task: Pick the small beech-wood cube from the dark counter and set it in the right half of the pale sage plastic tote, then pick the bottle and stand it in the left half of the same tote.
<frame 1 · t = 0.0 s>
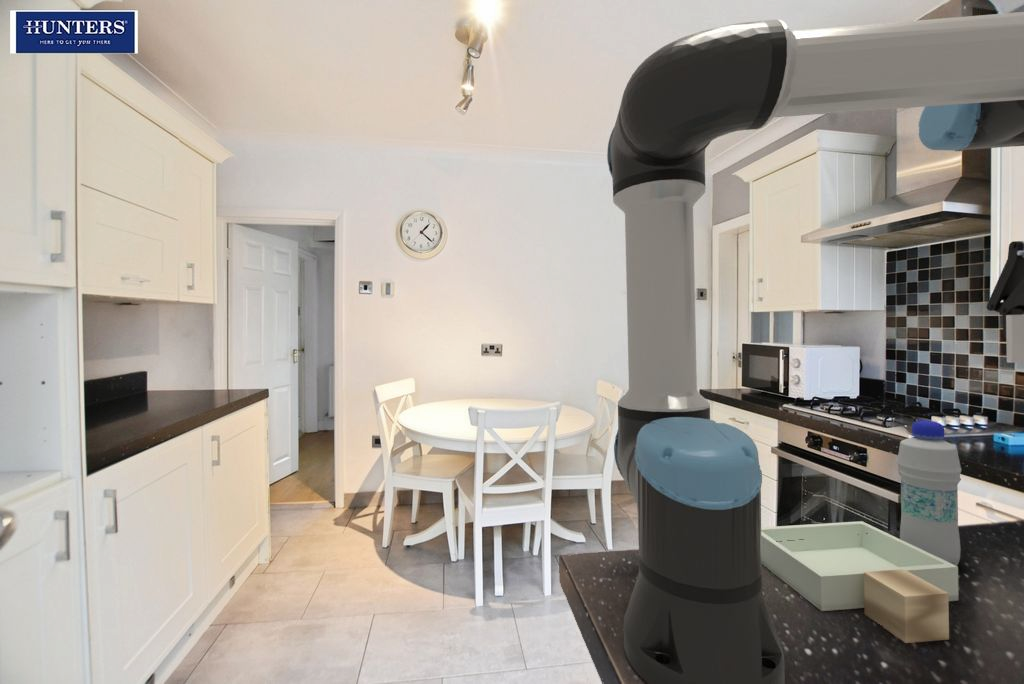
bottle: (929, 562, 64), on the countertop
cube: (904, 626, 50), on the countertop
tote: (844, 575, 61), on the countertop
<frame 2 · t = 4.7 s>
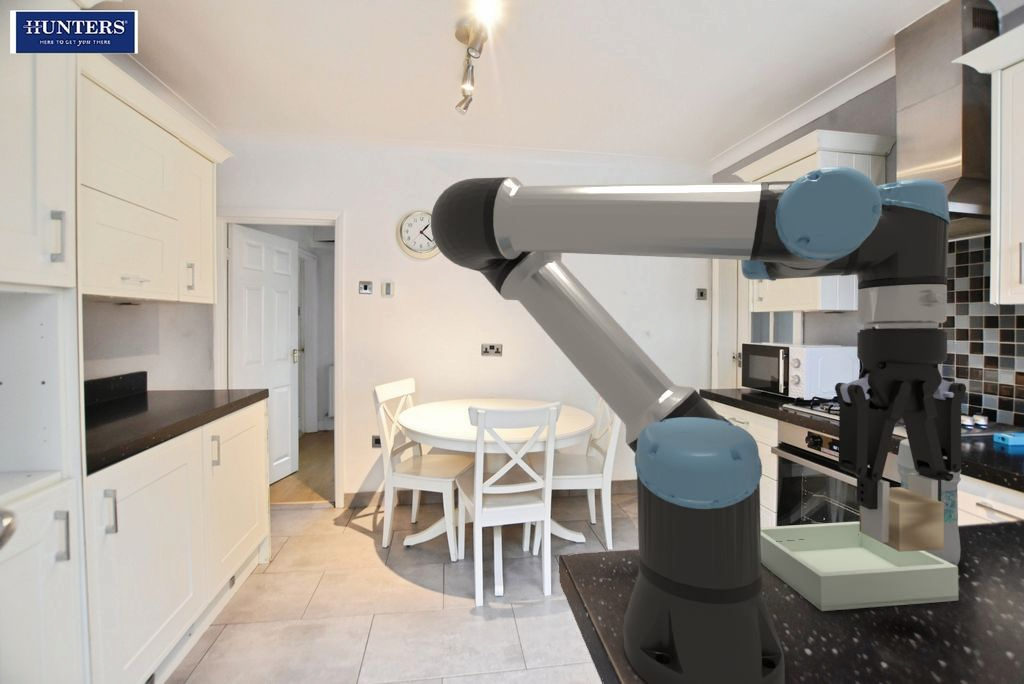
hand: (898, 535, 50), 10 cm above the countertop, fingers closed on cube, 5 cm apart
cube: (899, 540, 50), point 10 cm above the countertop, touching gripper
everything else where it was.
when the fingers open (4 cm above the countertop, at t = 7.7 s): cube drops 3 cm, resting on tote.
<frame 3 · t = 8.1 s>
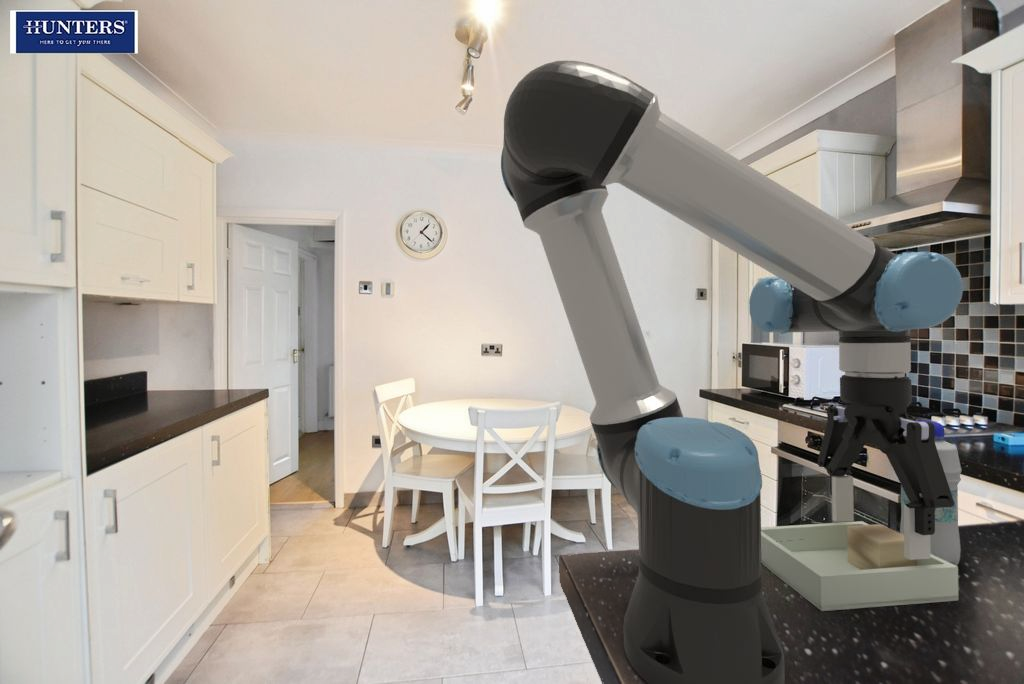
hand: (876, 537, 61), 5 cm above the countertop, fingers open, 10 cm apart
cube: (880, 569, 61), point 1 cm above the countertop, touching tote
everything else where it was.
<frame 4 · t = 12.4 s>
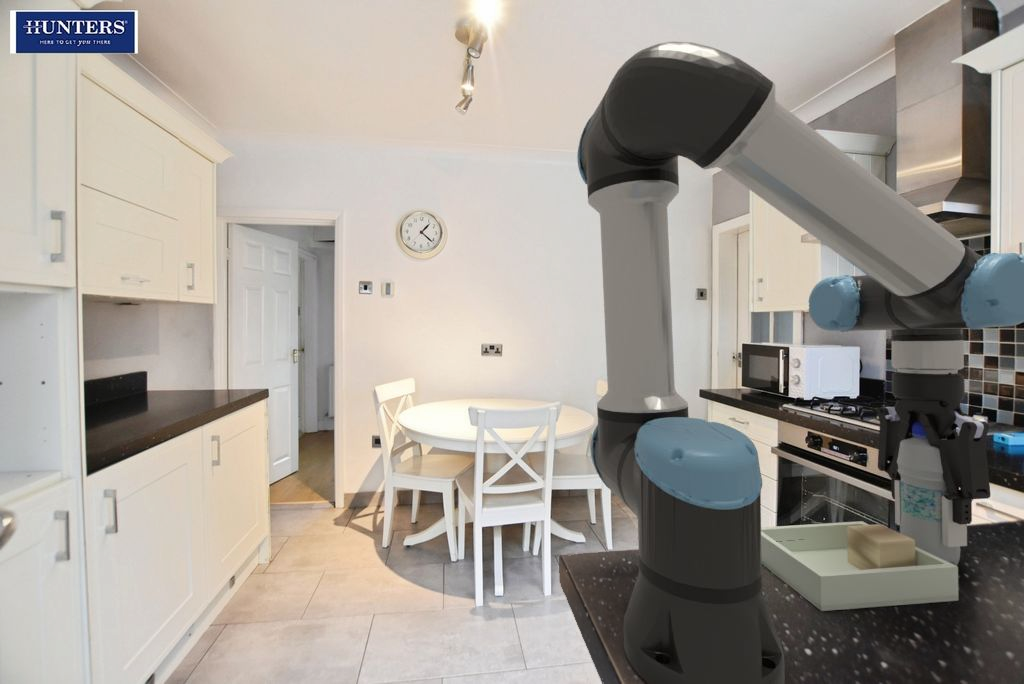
hand: (929, 533, 64), 4 cm above the countertop, fingers closed on bottle, 6 cm apart
bottle: (929, 562, 64), on the countertop, touching gripper
everything else where it was.
when the fingers open (6 cm above the countertop, at t = 17.6 s): bottle drops 2 cm, resting on tote.
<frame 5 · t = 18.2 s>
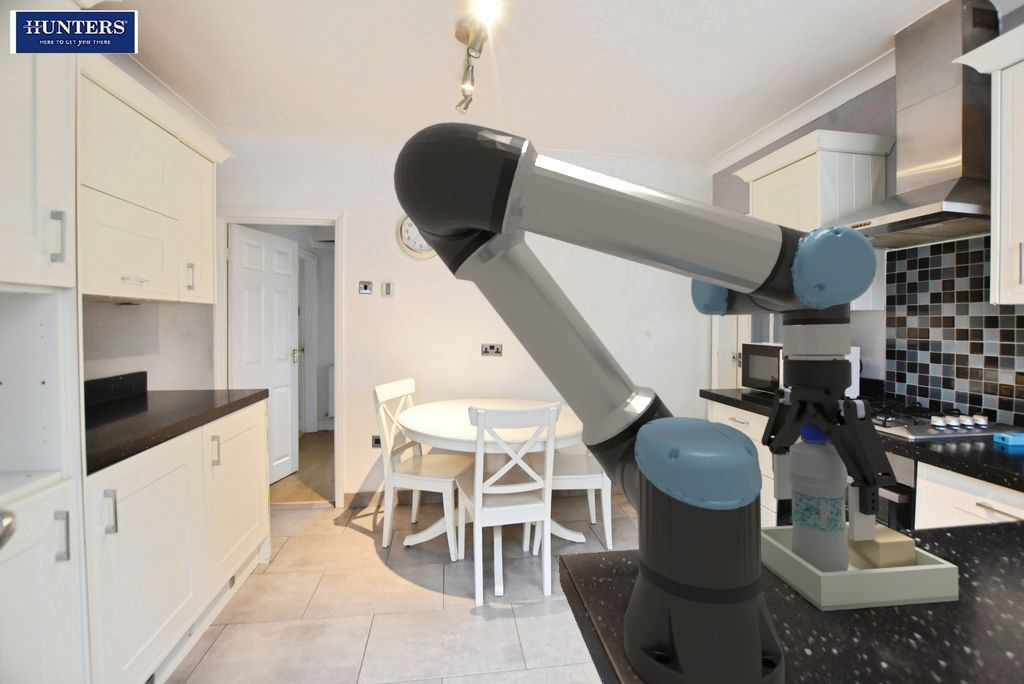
hand: (818, 516, 60), 8 cm above the countertop, fingers open, 13 cm apart
bottle: (820, 574, 60), resting on tote
everything else where it was.
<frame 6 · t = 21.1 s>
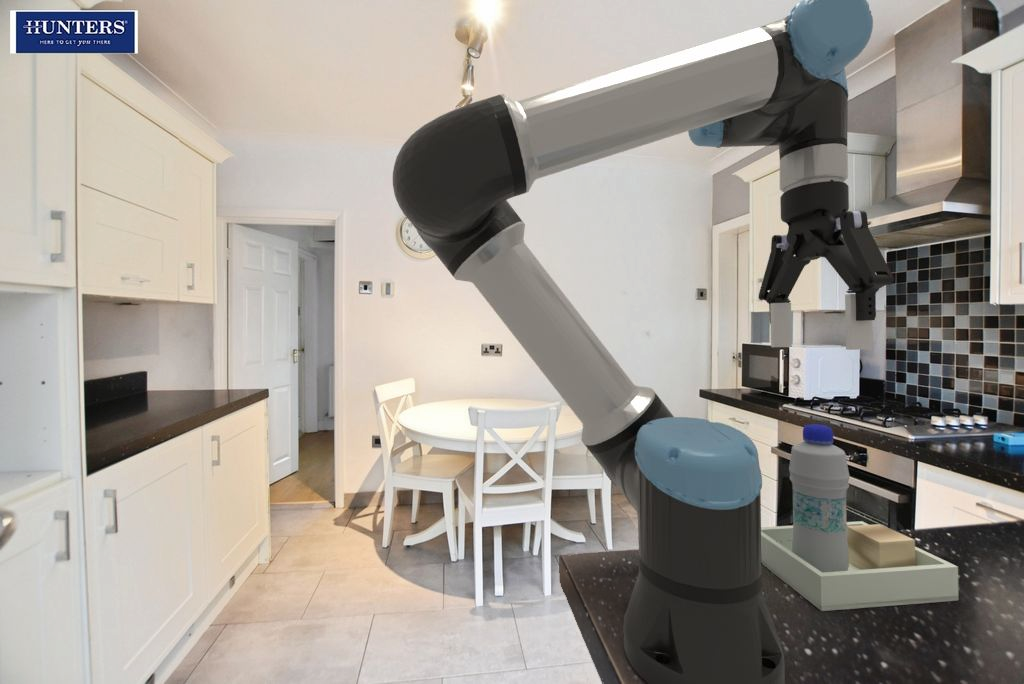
hand: (815, 348, 60), 31 cm above the countertop, fingers open, 13 cm apart
nothing on the countertop moved.
at the end: bottle inside the target area on the tote (3.6 cm from its centre), point 0.4 cm above the tote's base; cube inside the target area on the tote (4.9 cm from its centre), point 0.6 cm above the tote's base; bottle tilted 0° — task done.
